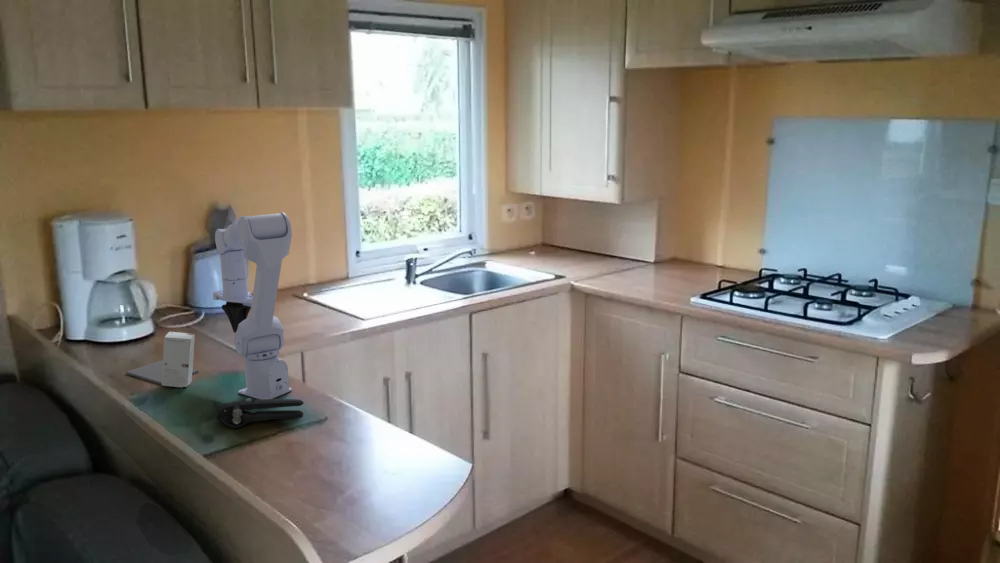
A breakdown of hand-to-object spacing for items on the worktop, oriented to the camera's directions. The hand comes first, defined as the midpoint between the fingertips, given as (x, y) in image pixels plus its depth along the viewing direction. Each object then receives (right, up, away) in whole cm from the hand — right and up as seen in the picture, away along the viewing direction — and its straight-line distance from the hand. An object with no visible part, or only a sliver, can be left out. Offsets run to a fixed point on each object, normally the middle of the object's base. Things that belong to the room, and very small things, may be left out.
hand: (238, 331), depth 195 cm
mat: (-19, -10, +2) cm, 22 cm away
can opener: (+13, -18, -25) cm, 33 cm away
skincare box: (-13, -12, -6) cm, 18 cm away
